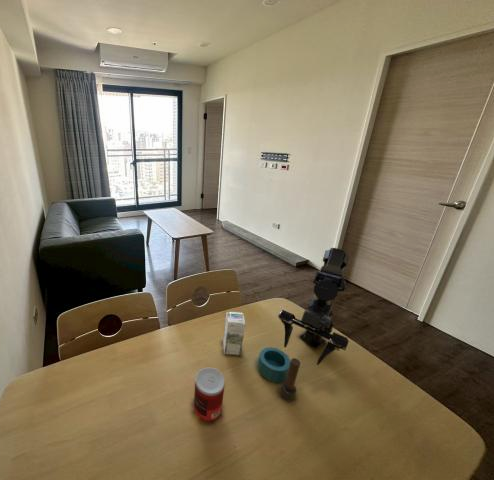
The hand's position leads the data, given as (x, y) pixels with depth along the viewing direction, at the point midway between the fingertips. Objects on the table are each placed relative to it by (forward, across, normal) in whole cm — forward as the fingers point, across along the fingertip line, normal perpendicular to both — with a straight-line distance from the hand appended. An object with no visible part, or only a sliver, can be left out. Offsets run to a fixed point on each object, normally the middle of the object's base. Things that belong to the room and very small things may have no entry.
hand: (300, 355), depth 74 cm
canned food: (+25, -15, -10) cm, 31 cm away
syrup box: (+9, -21, +6) cm, 24 cm away
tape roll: (+8, -7, +7) cm, 13 cm away
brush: (+12, 0, +3) cm, 12 cm away
